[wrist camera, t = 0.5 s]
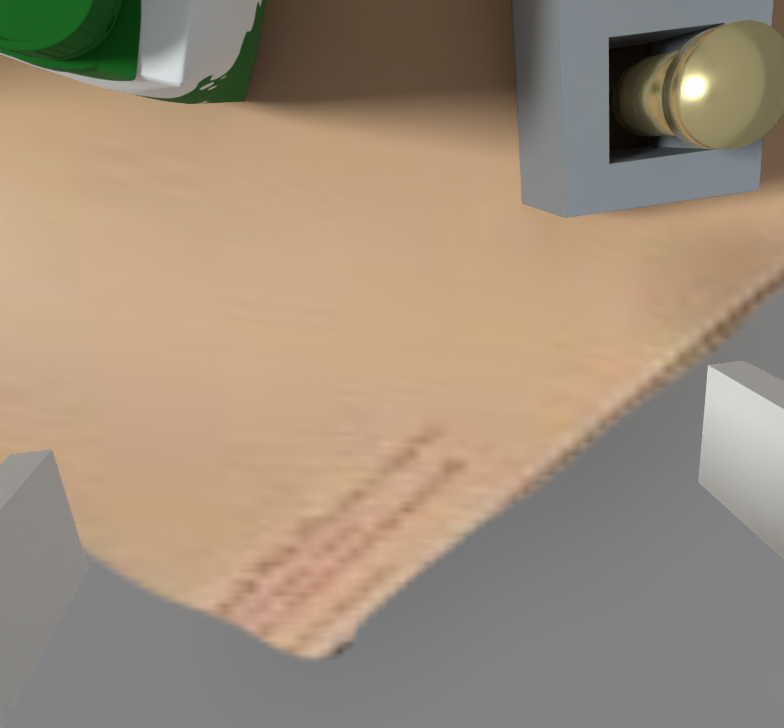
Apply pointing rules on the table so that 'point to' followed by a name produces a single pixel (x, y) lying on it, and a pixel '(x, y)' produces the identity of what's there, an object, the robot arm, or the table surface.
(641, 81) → the brass plunger
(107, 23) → the milk carton
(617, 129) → the table surface
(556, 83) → the block
